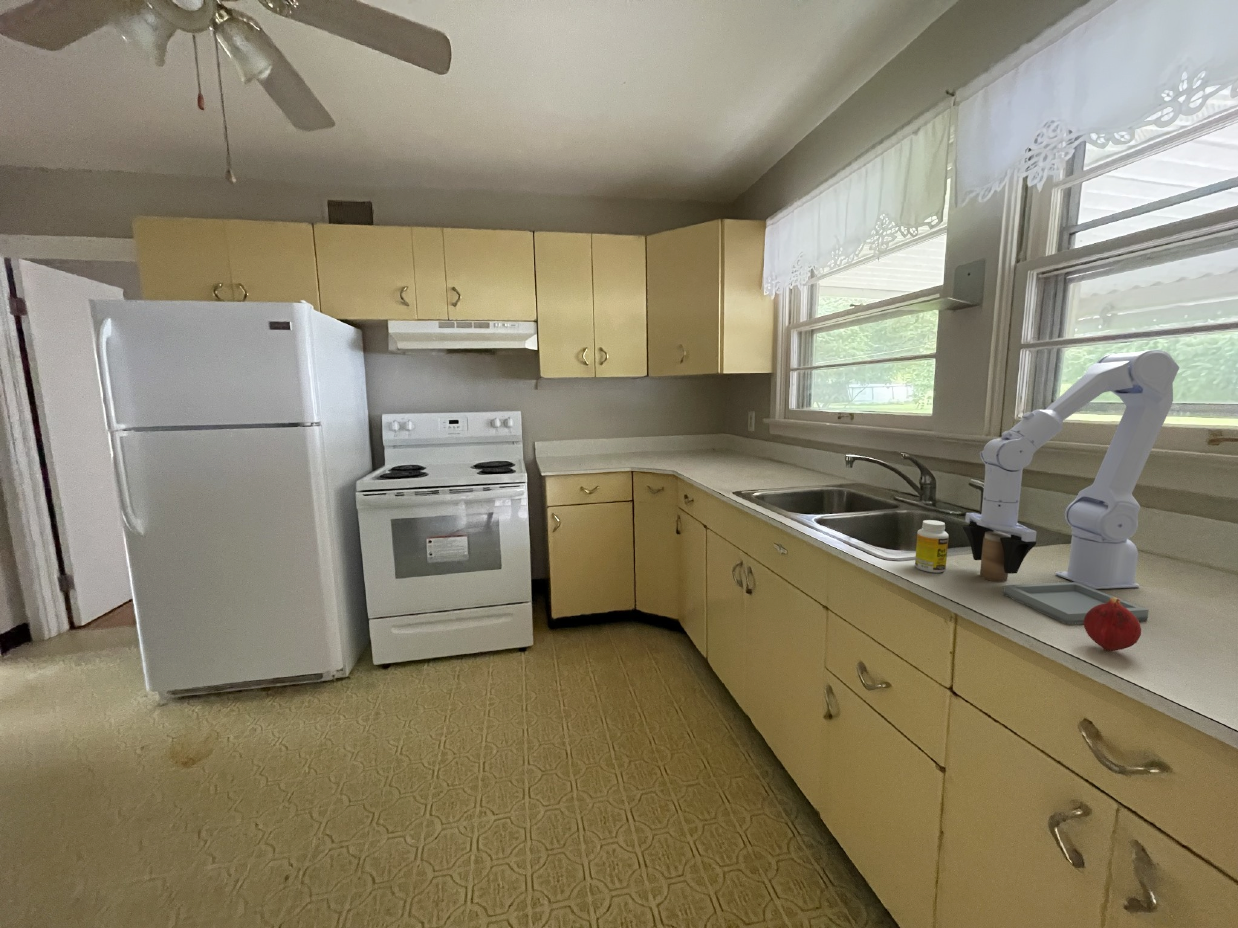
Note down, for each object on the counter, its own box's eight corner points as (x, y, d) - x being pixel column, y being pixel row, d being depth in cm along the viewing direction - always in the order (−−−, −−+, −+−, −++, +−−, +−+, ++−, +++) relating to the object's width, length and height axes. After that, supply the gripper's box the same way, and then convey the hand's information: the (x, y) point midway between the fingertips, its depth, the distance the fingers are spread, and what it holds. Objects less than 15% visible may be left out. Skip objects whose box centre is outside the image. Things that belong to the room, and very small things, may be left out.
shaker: (994, 573, 101) (998, 530, 100) (1013, 581, 97) (1017, 537, 96) (974, 574, 101) (978, 531, 100) (992, 582, 97) (996, 537, 95)
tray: (1074, 591, 92) (1075, 581, 92) (1147, 620, 80) (1148, 609, 80) (1003, 594, 91) (1004, 585, 91) (1067, 624, 79) (1068, 613, 79)
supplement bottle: (938, 575, 100) (941, 527, 99) (909, 568, 105) (913, 521, 104) (950, 570, 104) (954, 522, 102) (922, 562, 108) (926, 517, 107)
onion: (1144, 666, 67) (1152, 610, 66) (1086, 654, 70) (1093, 601, 69) (1129, 647, 72) (1136, 595, 71) (1076, 637, 75) (1082, 587, 74)
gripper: (954, 493, 104) (948, 555, 106) (1013, 508, 89) (1006, 580, 91) (985, 492, 104) (979, 553, 106) (1049, 507, 90) (1042, 578, 92)
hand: (994, 566), depth 99 cm, fingers open, 7 cm apart
